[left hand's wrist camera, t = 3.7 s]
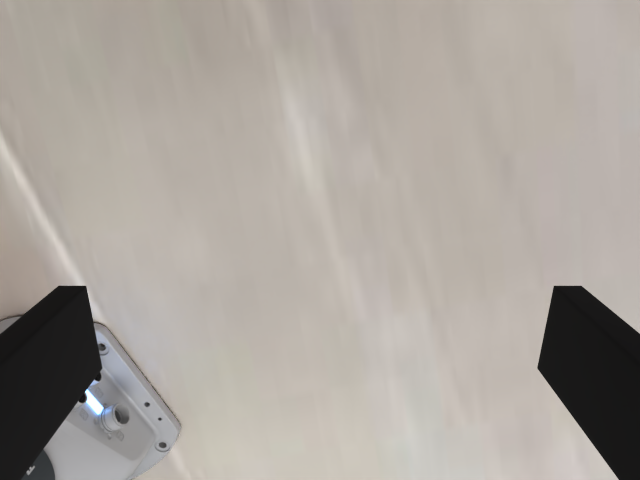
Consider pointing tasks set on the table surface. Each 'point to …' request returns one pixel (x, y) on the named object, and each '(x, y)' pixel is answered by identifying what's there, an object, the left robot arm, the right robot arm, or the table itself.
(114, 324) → the table surface
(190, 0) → the table surface
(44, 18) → the table surface
